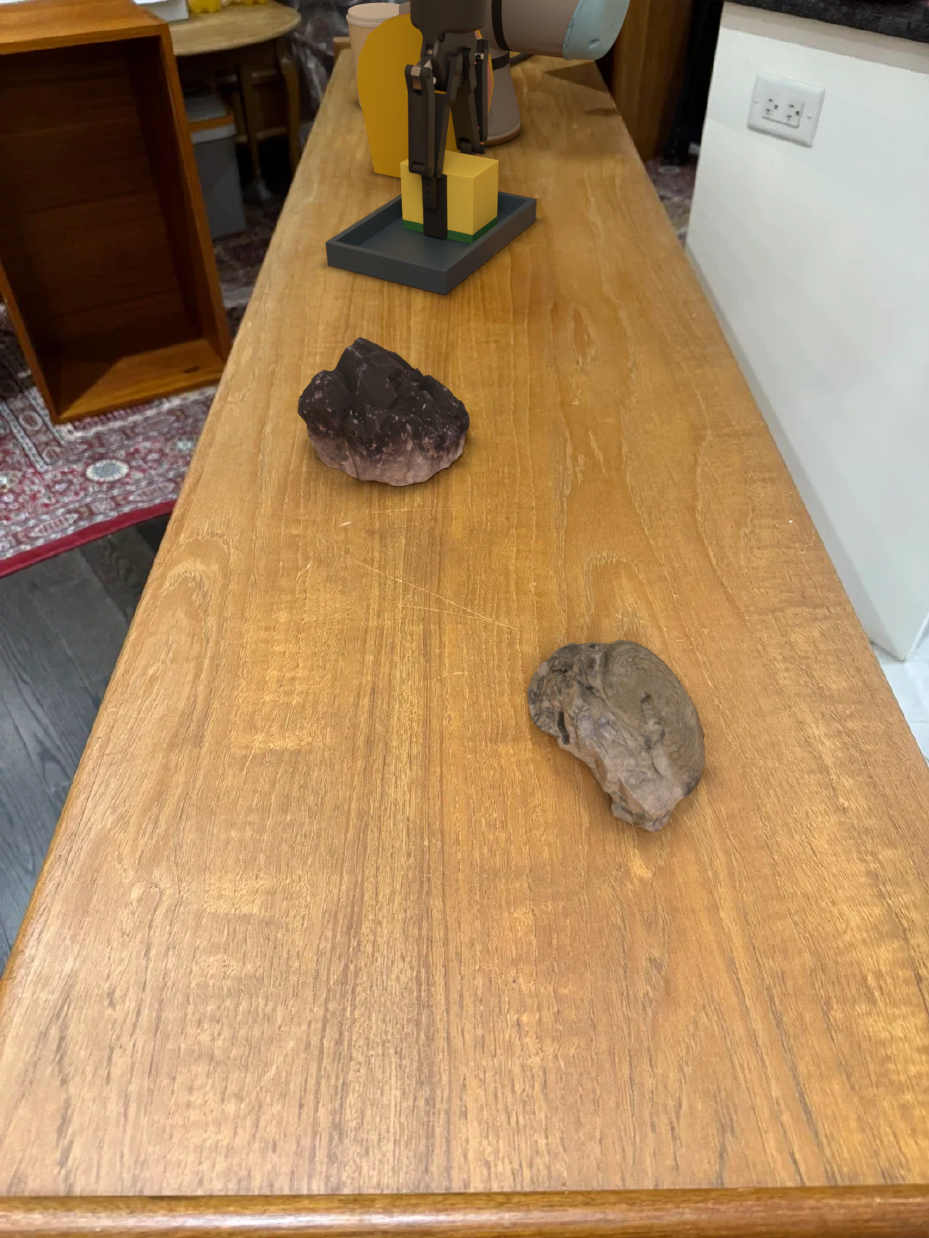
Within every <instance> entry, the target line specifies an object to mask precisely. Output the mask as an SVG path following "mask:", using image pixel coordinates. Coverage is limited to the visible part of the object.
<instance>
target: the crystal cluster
mask: <svg viewBox="0 0 929 1238" xmlns="http://www.w3.org/2000/svg"><path fill="white" fill-rule="evenodd" d="M297 415H298V416H299V417H300V418H301V419H302V420H303V421H304V423H305V425H306V430H307V432H306V433H307V437H308V438H309V441H310V443H311V445H312V447H313V449H314V450H315V452H316V454H317V456H318V458H319V459H320V461H322V462H323V464H324V465H326V467H329V468H333V469H335V470H339V471H341V472H343V473H345V474H346V475H348V476H350V477H352V478H355V479H358V480H359V481H360V482H363V483H365V482H372V481H374V482H379V483H384V484H388V485H391V486H397V487H403V486H408V485H413V484H418V483H423V482H426V481H428V480H429V479H430V478H432V477H433V476H434V475H435V474H436V473H438V472H440V471H441V470H443V469H446V468H449V467H450V465H451V464H453V462H455V461H456V460H458V458H459V457H460V456H461V455H462V454H463V453H464V446H465V443H466V436H467V433H468V430H469V428H470V425H471V422H470V421H471V419H470V413H469V412H468V411H467V409H466V405H465V403H464V402H463V401H462V400H461V399H458V398H457V397H456V396H455V395H454V393H453V392H452V391H451V390H450V388H448V387H447V386H445V385H444V384H443V383H442V382H441V381H439V380H438V379H437V378H435V377H434V376H432V375H431V374H426V375H424V374H423V373H422V372H421V370H420V369H419V368H418V367H416V368H415V367H413V366H412V365H411V364H410V363H409V362H408V361H407V360H406V359H404V358H403V357H402V356H400V354H398V353H397V352H396V351H392V350H388V349H386V348H384V346H381V345H380V344H377V343H375V342H373V341H371V340H369V339H367V338H364V337H361V336H358V337H357V338H356V339H355V340H354V341H353V342H352V344H351V345H348V346H345V348H344V349H343V352H342V353H341V355H340V357H339V360H338V362H337V363H336V366H335V367H334V368H333V369H332V370H327V369H322V370H320V371H318V372H317V373H316V374H314V376H313V377H311V380H310V382H309V383H308V385H306V387H304V389H303V390H302V393H301V395H299V398H298V400H297Z"/></svg>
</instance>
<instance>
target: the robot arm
mask: <svg viewBox="0 0 929 1238" xmlns="http://www.w3.org/2000/svg"><path fill="white" fill-rule="evenodd" d="M409 1H410V20H411V23H412V25H413V26H414V27H415V28H417V29H419V30H420V31H421V33H422V36H423V38H422V47H421V52H420V59H421V60H420V61H419V62H418V63H417V64H416V65H410V64H407V65H406V67H405V71H404V73H405V80H406V85H407V91H408V169H409V172H410V173H414V174H419V175H421V178H422V197H423V198H422V203H423V231H424V234H425V235H429V236H433V237H438V238H442V239H445V238H447V237H448V214H447V175H445V174H442V172H443V165H444V156H445V148H446V140H447V132H448V123H449V115H450V109H451V115H452V121H453V128H454V134H455V141H456V147H457V149H458V150H460V152H458V153H463V154H468V155H473V156H476V153H477V154H482V156H483V155H485V154H486V152H487V147H492V146H496V145H501V144H505V143H508V142H510V141H512V140H514V139H515V138H517V137H518V136H519V135H520V132H521V121H522V120H521V112H520V108H519V107H520V106H519V103H518V99H517V94H516V91H515V86H514V83H513V78H512V74H511V67H510V66H511V65H513V64H516V63H519V62H521V61H523V60H524V59H527V58H528V57H530V56H532V55H535V56H541V57H549V58H550V57H551V58H557V59H563V60H564V61H574V60H577V61H578V60H579V61H596V60H599V59H602V58H603V57H604V56H605V55H606V54H607V53H608V52H609V51H610V50H611V48H612V47H613V45H614V43H615V42H616V40H617V38H618V37H619V34H620V32H621V29H622V27H623V24H624V21H625V19H626V15H627V12H628V9H629V6H630V2H631V0H409ZM476 30H479V32H480V34H481V36H482V38H476V35H475V31H476ZM511 52H513V53H517V54H516V55H514V56H511ZM489 53H490V56H491V63H492V71H493V79H494V87H493V92H492V97H491V103H490V108H489V114H488V70H487V65H488V57H489ZM475 62H476V64H474V63H475ZM435 90H436V91H442V92H446V93H445V94H441V93H435ZM478 126H479V129H478ZM481 142H484V144H483V145H482V144H480V143H481Z"/></svg>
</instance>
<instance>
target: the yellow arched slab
mask: <svg viewBox="0 0 929 1238" xmlns="http://www.w3.org/2000/svg"><path fill="white" fill-rule="evenodd" d="M475 35H476V38H482V36H481V34H480V32H479V30H476V31H475ZM422 38H423V36H422V33H421V31H420V30H419V29H417V28H415V27H414V26H413V25H412V23H411V20H410V0H408V1H406V2H403V3H401V4H400V5H399V15H396V16H394V17H392V18H389V19H387V20H385V21H384V22H383V23H381V24H380V25H379V26H378V27H377V28H375V29H374V30H373V31H372V32H370V33H369V34H368V36H367V39H366V41H365V43H364V45H363V48H362V50H361V52H360V54H359V57H358V70H357V87H358V92H359V97H360V102H361V106H360V108H361V112H362V117H363V121H364V122H363V123H364V127H365V132H366V138H367V142H368V147H369V152H370V156H371V162H372V166H373V172H374V174H379V175H384V176H388V177H389V176H390V177H394V178H399V179H401V171H400V163H401V162H403V161H405V160H406V159H408V91H407V85H406V80H405V73H404V71H405V67H406V65H407V64H410V65H416V64H417V63H418V62H419V61H420V60H421V59H420V52H421V47H422ZM474 64H476V62H475V63H474ZM487 70H488V114H489V108H490V103H491V97H492V92H493V87H494V79H493V71H492V63H491V56H490V53H489V57H488V65H487ZM435 93H441V94H445V93H446V92H442V91H436V90H435ZM478 129H479V126H478ZM480 144H482V145H483V144H484V142H481V143H480ZM445 150H447V151H453V152H460V150H458V149H457V147H456V141H455V134H454V128H453V121H452V115H451V109H450V115H449V123H448V132H447V140H446V148H445ZM476 156H479V157H483V155H482V154H477V153H476Z"/></svg>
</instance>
